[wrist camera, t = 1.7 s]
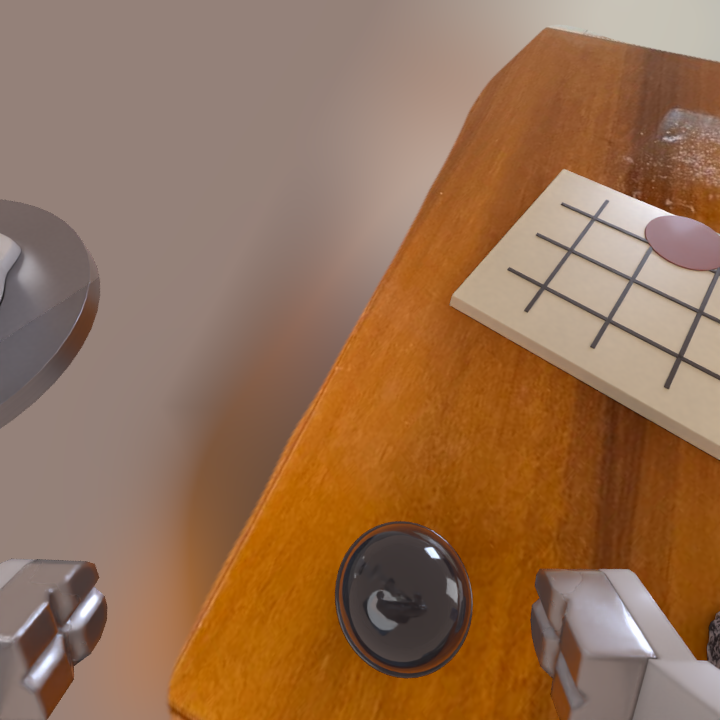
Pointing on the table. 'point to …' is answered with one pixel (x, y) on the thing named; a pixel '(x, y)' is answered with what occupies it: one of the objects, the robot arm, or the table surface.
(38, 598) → the robot arm
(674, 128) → the table surface
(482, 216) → the table surface
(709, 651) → the rock
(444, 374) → the table surface
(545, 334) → the board
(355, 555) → the dome-topped canister
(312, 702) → the table surface
